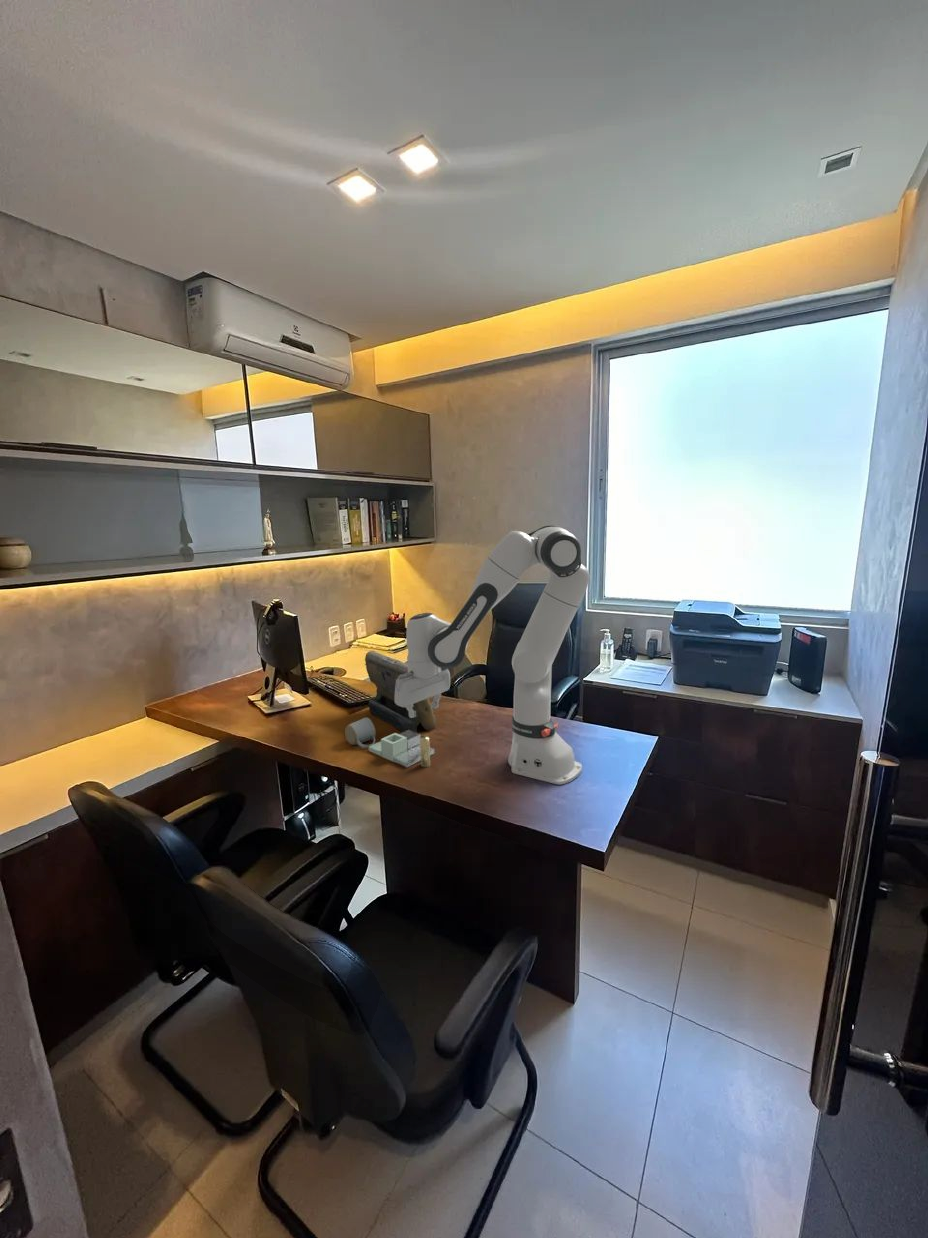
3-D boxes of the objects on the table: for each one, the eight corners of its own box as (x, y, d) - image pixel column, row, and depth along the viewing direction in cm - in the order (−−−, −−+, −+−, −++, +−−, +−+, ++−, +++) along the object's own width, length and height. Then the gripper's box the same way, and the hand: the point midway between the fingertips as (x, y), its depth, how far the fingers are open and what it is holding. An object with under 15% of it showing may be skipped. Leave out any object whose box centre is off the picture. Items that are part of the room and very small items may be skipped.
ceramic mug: (343, 742, 166) (342, 721, 165) (364, 734, 172) (363, 714, 170) (360, 752, 159) (359, 730, 157) (381, 744, 164) (381, 723, 163)
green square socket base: (421, 748, 161) (420, 731, 160) (393, 762, 152) (392, 744, 151) (396, 738, 168) (395, 722, 167) (368, 750, 160) (367, 733, 158)
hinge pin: (432, 764, 150) (431, 737, 148) (425, 768, 148) (424, 740, 146) (425, 761, 152) (424, 734, 150) (419, 765, 149) (418, 737, 148)
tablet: (443, 726, 178) (441, 660, 173) (414, 738, 169) (411, 668, 164) (389, 704, 201) (386, 645, 196) (360, 714, 191) (357, 652, 186)
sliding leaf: (434, 753, 157) (434, 739, 156) (406, 767, 148) (406, 752, 147) (409, 743, 164) (408, 729, 163) (381, 756, 155) (380, 742, 154)
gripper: (403, 678, 134) (405, 725, 137) (453, 662, 149) (454, 705, 152) (388, 674, 138) (390, 720, 141) (438, 658, 153) (439, 700, 156)
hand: (424, 712), depth 146 cm, fingers open, 8 cm apart
